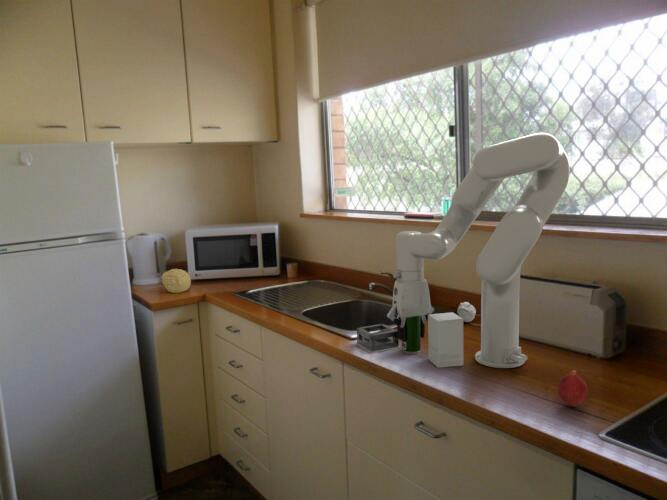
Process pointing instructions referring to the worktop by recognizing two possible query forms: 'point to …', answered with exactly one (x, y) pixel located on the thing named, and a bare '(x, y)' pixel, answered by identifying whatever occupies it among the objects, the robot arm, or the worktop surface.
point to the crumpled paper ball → (466, 311)
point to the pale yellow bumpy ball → (176, 280)
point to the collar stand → (377, 338)
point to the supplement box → (445, 339)
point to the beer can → (412, 335)
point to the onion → (572, 389)
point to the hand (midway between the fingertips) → (411, 337)
